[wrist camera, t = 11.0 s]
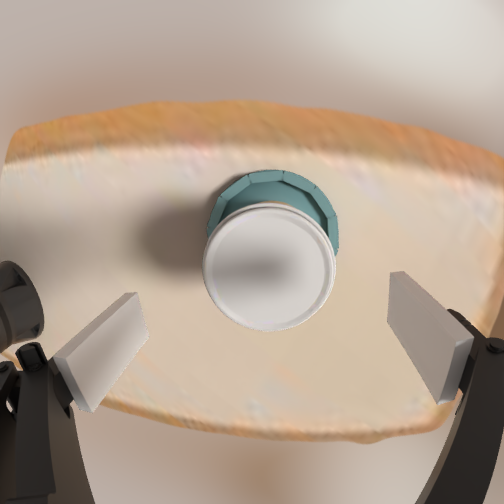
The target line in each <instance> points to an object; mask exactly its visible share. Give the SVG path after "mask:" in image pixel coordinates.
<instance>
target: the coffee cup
mask: <svg viewBox="0 0 504 504" xmlns="http://www.w3.org/2000/svg"><path fill="white" fill-rule="evenodd" d="M202 272H203V279H204V283H205V286H206V289H207V291H208V293H209V295H210V297H211V298H212V300H213V302H214V303H215V305H216V306H217V307H218V308H219V309H220V310H221V311H222V312H223V314H225V315H226V316H227V317H228V318H230V319H231V320H233V321H234V322H236V323H238V324H240V325H242V326H244V327H247V328H250V329H253V330H258V331H280V330H285V329H289V328H292V327H294V326H297V325H299V324H301V323H303V322H304V321H306V320H307V319H309V318H310V317H311V316H312V315H314V314H315V313H316V312H317V311H318V310H319V309H320V308H321V306H322V305H323V304H324V303H325V301H326V299H327V298H328V296H329V294H330V292H331V290H332V287H333V284H334V280H335V273H336V262H335V255H334V251H333V248H332V245H331V242H330V240H329V238H328V236H327V235H326V233H325V232H324V230H323V229H322V228H321V227H320V225H319V224H318V223H317V222H316V221H315V220H314V219H312V218H311V217H310V216H308V215H307V214H306V213H304V212H302V211H300V210H298V209H296V208H294V207H293V206H291V205H289V204H287V203H284V202H280V201H264V202H260V203H257V204H253V205H248V206H246V207H243V208H241V209H238V210H236V211H234V212H233V213H231V214H230V215H228V216H227V217H226V218H225V219H223V220H222V221H221V222H220V223H219V224H218V225H217V227H216V228H215V229H214V231H213V232H212V234H211V235H210V237H209V239H208V241H207V244H206V246H205V250H204V254H203V260H202Z"/></svg>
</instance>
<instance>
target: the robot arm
mask: <svg viewBox="0 0 504 504" xmlns="http://www.w3.org/2000/svg"><path fill="white" fill-rule="evenodd" d="M387 322H388V324H389V325H390V327H391V328H392V330H393V332H394V333H395V335H396V336H397V338H398V339H399V341H400V343H401V344H402V346H403V347H404V349H405V351H406V352H407V354H408V355H409V357H410V359H411V360H412V362H413V364H414V365H415V367H416V369H417V370H418V372H419V374H420V375H421V377H422V379H423V381H424V382H425V384H426V386H427V387H428V389H429V391H430V393H431V395H432V396H433V398H434V400H435V402H436V403H437V405H439V404H442V403H446V402H449V401H452V400H454V399H455V396H456V394H457V391H458V388H460V390H461V391H462V393H463V396H462V399H461V401H460V404H459V406H458V408H457V411H456V413H455V415H456V416H455V419H454V422H453V425H452V427H451V430H450V433H449V435H448V437H447V440H446V442H445V445H444V447H443V450H442V452H441V454H440V456H439V459H438V461H437V463H436V465H435V467H434V469H433V471H432V473H431V475H430V477H429V479H428V481H427V483H426V485H425V487H424V489H423V491H422V492H421V494H420V496H419V498H418V499H417V501H416V503H415V504H483V501H484V499H485V495H486V493H487V490H488V487H489V484H490V481H491V478H492V475H493V471H494V468H495V464H496V460H497V456H498V452H499V447H500V443H501V439H502V434H503V429H504V340H502V339H499V338H491V337H490V338H486V337H485V336H484V335H482V334H481V333H480V332H479V331H478V330H477V329H476V328H475V327H474V326H473V325H471V323H470V322H469V321H468V320H466V318H465V317H463V316H462V315H461V314H460V313H458V312H456V311H454V310H452V309H447V310H446V309H445V308H444V307H443V306H442V305H441V304H440V303H439V302H438V301H437V300H435V299H434V298H433V297H432V296H431V295H430V294H429V293H428V292H427V291H426V290H424V289H423V288H422V287H421V286H420V285H419V284H418V283H417V282H415V281H414V280H413V279H412V278H411V277H410V276H409V275H407V274H406V273H405V272H404V271H400V272H392V273H390V287H389V304H388V317H387ZM43 328H44V314H43V308H42V305H41V301H40V298H39V296H38V293H37V291H36V289H35V287H34V285H33V283H32V282H31V280H30V278H29V277H28V275H27V274H26V273H25V272H24V271H23V269H22V268H21V267H19V266H18V265H17V264H15V263H13V262H11V261H5V262H3V263H1V264H0V353H2V352H3V351H4V350H5V349H7V348H8V347H9V346H11V345H12V344H16V343H20V342H24V341H29V340H33V339H35V338H37V337H39V336H40V335H41V333H42V331H43ZM148 338H149V333H148V330H147V327H146V323H145V319H144V316H143V312H142V308H141V305H140V301H139V297H138V293H137V292H134V293H125V294H124V295H123V296H121V297H120V298H119V299H118V300H117V301H115V302H114V303H113V304H112V305H111V306H109V307H108V308H107V309H106V310H105V311H104V312H102V313H101V314H100V315H99V316H98V317H97V318H95V319H94V320H93V321H92V322H91V323H90V324H88V325H87V326H86V327H85V328H84V329H83V330H82V331H80V332H79V333H78V334H77V335H76V336H75V337H74V338H72V339H71V340H70V341H69V342H68V343H67V344H66V345H65V346H64V347H62V348H61V349H60V350H59V351H58V352H57V353H56V354H55V355H54V356H53V357H52V358H51V359H49V360H48V361H47V359H46V356H45V354H44V352H43V349H42V347H41V345H40V343H38V342H32V343H28V344H25V345H23V346H21V347H20V348H19V349H18V350H17V351H16V353H15V354H16V356H17V358H18V360H19V363H20V365H21V367H22V369H23V371H17V369H16V367H15V365H14V363H13V362H12V361H5V362H4V361H3V362H1V363H0V504H95V502H94V499H93V495H92V492H91V489H90V486H89V482H88V479H87V475H86V471H85V468H84V463H83V459H82V455H81V451H80V446H79V441H78V437H77V431H76V425H75V419H74V413H73V409H72V407H71V406H70V403H71V402H72V401H73V399H74V401H75V402H76V404H77V406H78V408H79V410H83V411H87V412H91V413H93V412H94V410H95V409H96V408H97V406H98V405H99V404H100V402H101V401H102V399H103V398H104V397H105V395H106V394H107V393H108V391H109V390H110V389H111V387H112V386H113V384H114V383H115V382H116V380H117V379H118V378H119V376H120V375H121V374H122V372H123V371H124V370H125V368H126V367H127V366H128V364H129V363H130V362H131V360H132V359H133V358H134V356H135V355H136V354H137V352H138V351H139V350H140V348H141V347H142V346H143V344H144V343H145V342H146V340H147V339H148ZM6 401H8V402H9V404H10V406H11V407H12V409H13V410H12V412H10V411H9V410H8V408H7V406H6Z"/></svg>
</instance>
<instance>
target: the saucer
mask: <svg viewBox="0 0 504 504" xmlns="http://www.w3.org/2000/svg"><path fill="white" fill-rule="evenodd" d="M220 195H221V196H219V197H218V200H217V202H216V204H215V206H214V208H213V210H212V213H211V216H210V219H209V222H208V224H207V227H208V228H207V235H208V239H209V237H210V235H211V234H212V232H213V231H214V229H215V228H216V227H217V225H218V224H219V223H220V222H221V221H222V220H223V219H225V218H226V217H227V216H228V215H230V214H231V213H233V212H234V211H236V210H238V209H241V208H243V207H246V206H248V205H253V204H257V203H260V202H264V201H280V202H284V203H287V204H289V205H291V206H293V207H294V208H296V209H298V210H300V211H302V212H304V213H306V214H307V215H308V216H310V217H311V218H312V219H314V220H315V221H316V222H317V223H318V224H319V225H320V227H321V228H322V229H323V230H324V232H325V233H326V235H327V236H328V238H329V240H330V242H331V245H332V248H333V251H334V255H335V256H336V254H337V252H338V249H337V248H339V242H338V223H337V216H336V213H335V211H334V210H333V208H332V205H331V204H330V202H329V200H328V199H327V197H326V196H325V195H324V193H323V192H322V191H321V190H320V189H319V188H318V186H316V185H315V184H313V183H312V182H310V181H309V180H307V179H306V178H304V177H302V176H300V175H297V174H295V173H292V172H287V171H283V170H264V171H258V172H254V173H251V174H248V175H246V176H244V177H242V178H240V179H239V180H237V181H235V182H234V183H233V184H231V185H230V186H229V187H228V188H227V189H226V190H225V191H224V192H223V193H222V194H220Z"/></svg>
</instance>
